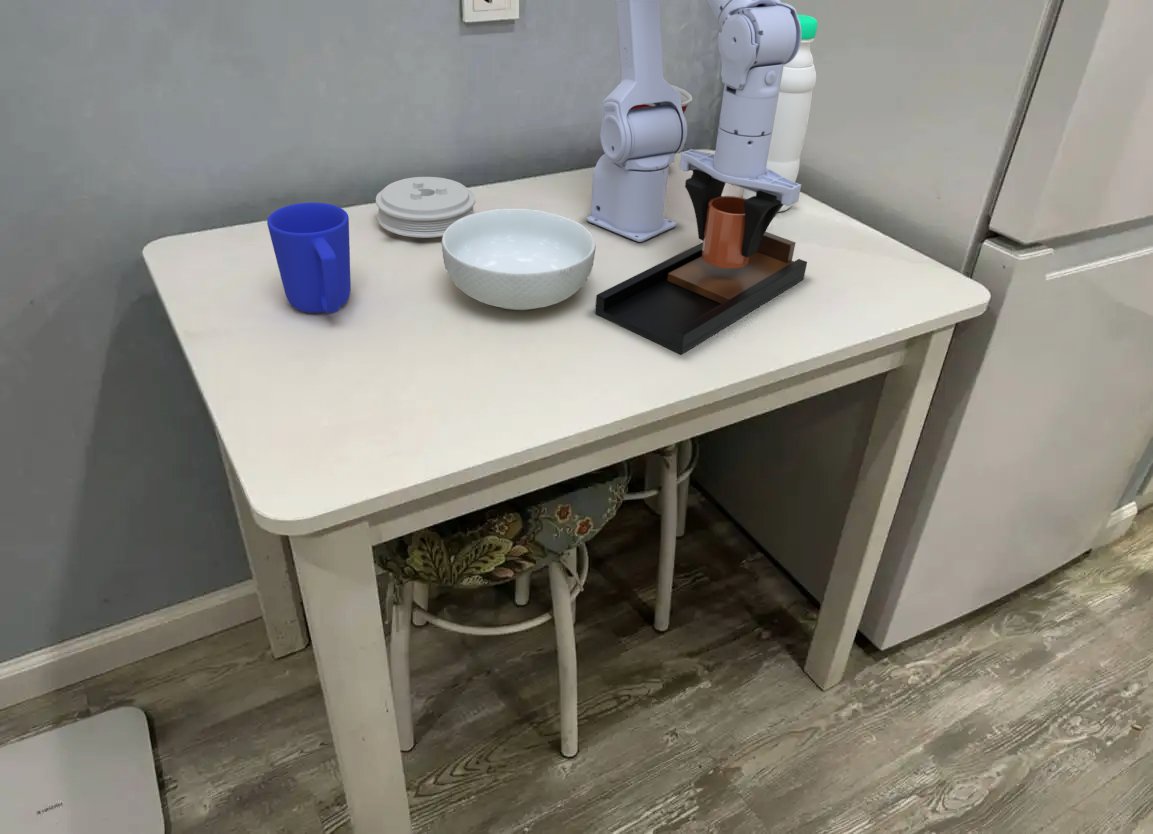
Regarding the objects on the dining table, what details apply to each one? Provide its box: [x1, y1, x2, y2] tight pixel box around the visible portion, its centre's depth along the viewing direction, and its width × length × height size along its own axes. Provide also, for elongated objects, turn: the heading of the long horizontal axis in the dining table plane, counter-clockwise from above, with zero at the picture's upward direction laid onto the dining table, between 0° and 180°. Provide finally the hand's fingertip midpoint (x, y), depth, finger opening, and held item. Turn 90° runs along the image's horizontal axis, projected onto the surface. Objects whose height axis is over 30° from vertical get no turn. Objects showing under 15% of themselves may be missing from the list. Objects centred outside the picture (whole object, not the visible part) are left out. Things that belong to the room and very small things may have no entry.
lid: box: [375, 176, 476, 239], centre depth 116 cm, size 13×13×5 cm
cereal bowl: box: [441, 208, 597, 311], centre depth 100 cm, size 17×17×7 cm
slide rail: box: [594, 241, 808, 355], centre depth 103 cm, size 12×25×2 cm, turn 138°
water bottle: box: [742, 13, 818, 213], centre depth 120 cm, size 7×7×25 cm
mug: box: [266, 202, 352, 314], centre depth 95 cm, size 8×12×10 cm
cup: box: [702, 195, 750, 268], centre depth 102 cm, size 6×6×6 cm
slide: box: [667, 230, 796, 304], centre depth 106 cm, size 9×14×3 cm, turn 138°
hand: (727, 245), depth 103 cm, fingers closed on cup, 5 cm apart
